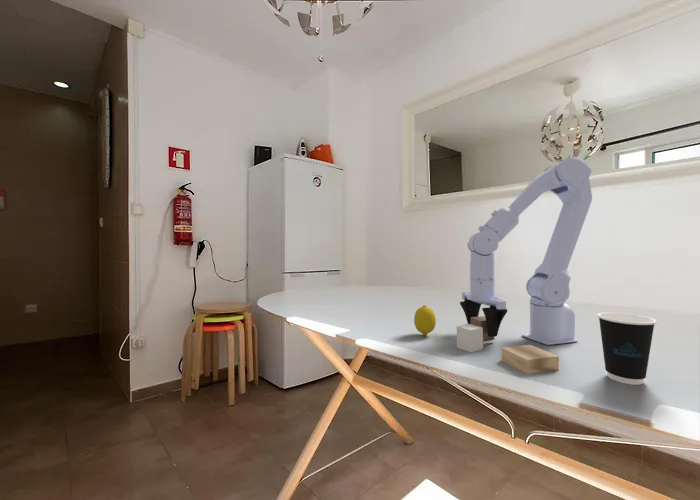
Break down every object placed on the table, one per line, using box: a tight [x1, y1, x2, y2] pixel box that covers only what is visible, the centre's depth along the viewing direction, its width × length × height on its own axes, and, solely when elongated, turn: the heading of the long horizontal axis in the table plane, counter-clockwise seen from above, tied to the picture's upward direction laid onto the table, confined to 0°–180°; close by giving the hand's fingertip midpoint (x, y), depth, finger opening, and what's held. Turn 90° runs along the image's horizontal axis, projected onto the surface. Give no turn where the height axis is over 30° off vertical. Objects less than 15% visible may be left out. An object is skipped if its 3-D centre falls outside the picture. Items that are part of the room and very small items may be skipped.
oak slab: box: [501, 344, 560, 375], centre depth 63 cm, size 7×7×3 cm
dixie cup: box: [596, 311, 657, 386], centre depth 56 cm, size 8×8×11 cm
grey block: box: [456, 323, 484, 353], centre depth 74 cm, size 4×4×5 cm
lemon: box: [413, 304, 437, 336], centre depth 84 cm, size 6×6×8 cm
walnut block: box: [471, 315, 495, 341], centre depth 81 cm, size 4×4×5 cm
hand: (482, 332), depth 81 cm, fingers open, 7 cm apart
